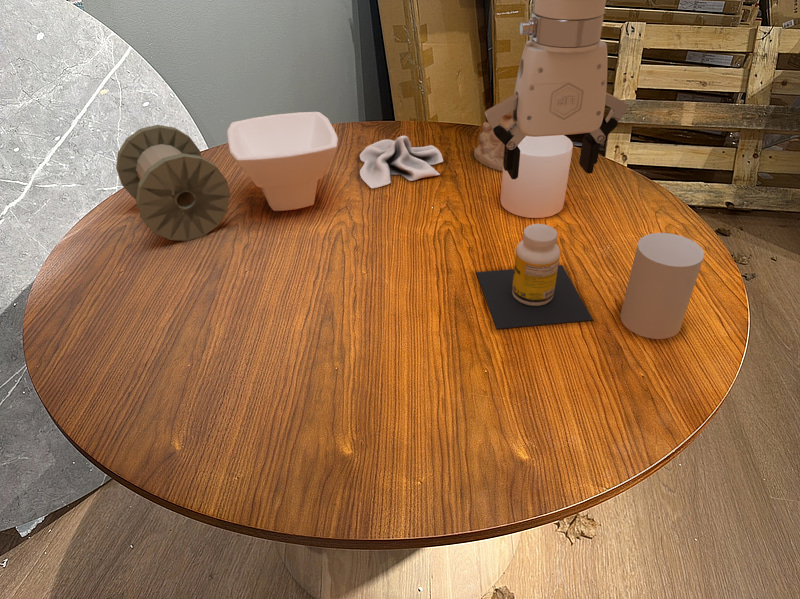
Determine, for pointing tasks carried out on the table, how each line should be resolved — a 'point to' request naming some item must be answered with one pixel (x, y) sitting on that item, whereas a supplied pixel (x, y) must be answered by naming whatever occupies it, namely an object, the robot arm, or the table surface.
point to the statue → (492, 145)
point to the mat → (517, 314)
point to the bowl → (284, 155)
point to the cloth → (397, 161)
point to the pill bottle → (536, 265)
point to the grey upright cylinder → (661, 284)
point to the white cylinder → (538, 177)
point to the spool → (172, 183)
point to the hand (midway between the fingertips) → (548, 171)
